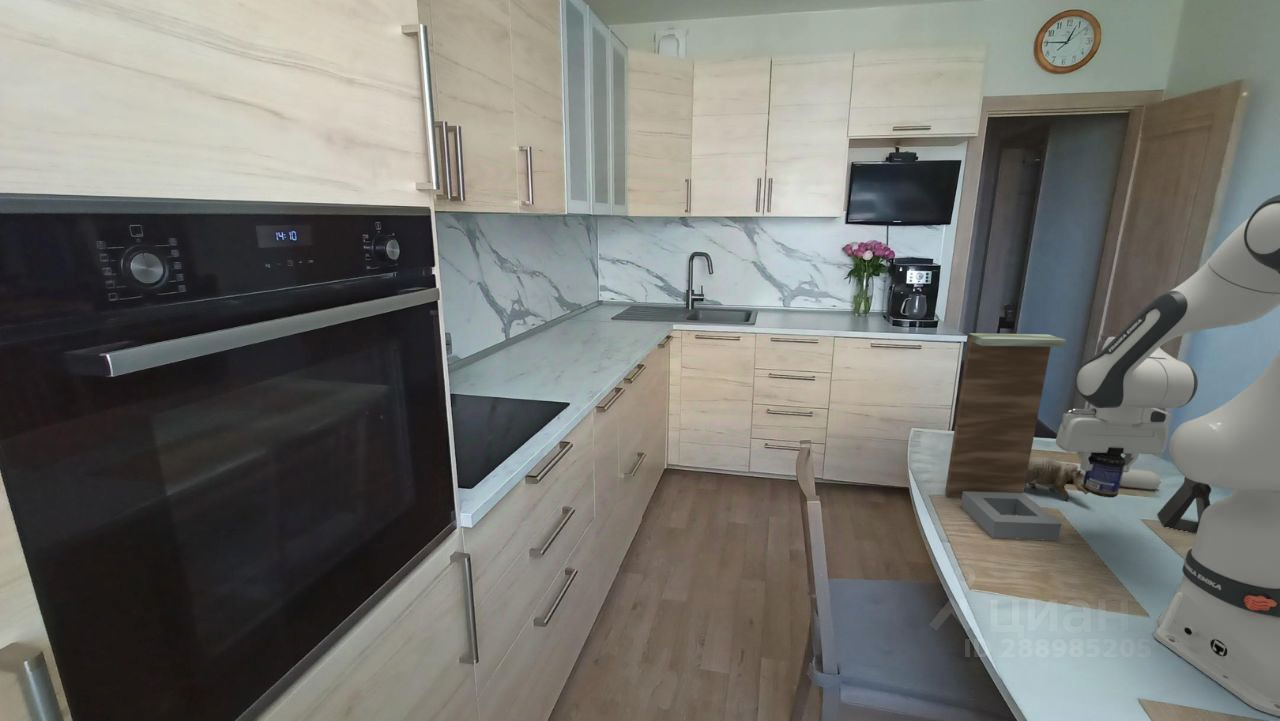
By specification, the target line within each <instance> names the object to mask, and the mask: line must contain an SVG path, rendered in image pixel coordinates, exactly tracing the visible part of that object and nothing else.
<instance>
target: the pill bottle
mask: <svg viewBox="0 0 1280 721" xmlns="http://www.w3.org/2000/svg"><path fill="white" fill-rule="evenodd" d="M1123 450H1124V448H1114V447H1109V448H1108V451H1107V453H1093V452H1091V456H1090V457H1088V460H1089V462H1090V463H1092V464H1094V467H1093V471H1085V476H1084V480H1083V485H1082V486H1083V488H1084V489H1085V490H1086V491H1088V492H1089V493H1090V494H1092V495H1095V496H1098V497H1102V498H1103V497H1104V498H1116V497H1117V496H1118V495H1119V492H1120V487H1121V486H1120V483H1121V479H1122V475H1123V470H1124V466H1125V460H1124V457H1123V455H1124V453H1123ZM1122 454H1123V455H1122Z"/></svg>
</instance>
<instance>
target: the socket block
mask: <svg viewBox="0 0 1280 721" xmlns="http://www.w3.org/2000/svg"><path fill="white" fill-rule="evenodd" d="M960 508H962V510H963V511H964V512H965V513H966V514H967V515H968V516H969V517H970V518H972V519H973V521H974V522H975V523H976V524H977V525H979V527H980V528H981V529H982V530H983V531H984V532H985V533H986V534H987V535H988V536H989V537H990V539H1003V540H1004V538H1011V539H1010V540H1017V539H1016V538H1019V539H1018V540H1032V539H1040V540H1039V541H1041V539H1044V540H1043V541H1059V540H1060V535H1061V530H1062V525H1063V523H1061V522H1060V521H1059V520H1058V519H1056V518H1055V516H1052V515H1051V514H1050V513H1049V512H1048V511H1046V510H1045V509H1044V508H1043V507H1041V506H1040V505H1038V503H1036V502H1035V501H1034V500H1033V499H1031V498H1030V497H1029V496H1028V495H1026V494H1025V493H1024V492H1023V493H1001V492H969V491H963V494H962V498H961V500H960ZM1016 515H1017V516H1016Z"/></svg>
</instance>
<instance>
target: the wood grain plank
mask: <svg viewBox="0 0 1280 721" xmlns="http://www.w3.org/2000/svg"><path fill="white" fill-rule="evenodd" d="M1066 342H1067V339H1065V338H1062V337H1057V336H1054V335H1052V334H1041V333H1040V334H1039V333H1038V334H1037V333H1032V334H1031V333H1030V334H1029V333H976V332H974V333H971V332H969V333H968V339H967V344H966V352H965V356H964V358H965V359H964V365H963V371H962V377H961V386H960V391H959V397H958V403H957V404H958V405H957V411H956V418H955V425H954V429H953V430H954V431H953V436H952V444H951V451H950V458H949V464H948V471H947V477H946V485H945V491H944V495H945V497H947V498H953V499H954V498H957V499H962V494H963V491H969V492H1001V493H1023V494H1024V492H1025V486H1026V484H1025V481H1026V476H1027V470H1028V465H1029V460H1030V458H1031V454H1032V449H1033V443H1034V438H1035V433H1036V428H1037V422H1038V417H1039V410H1040V406H1041V399H1042V395H1043V390H1044V385H1045V380H1046V379H1045V378H1046V373H1047V369H1048V362H1049V358H1050V353H1051V348H1054V347H1056V348H1058V347H1059V348H1065V347H1066Z"/></svg>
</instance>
